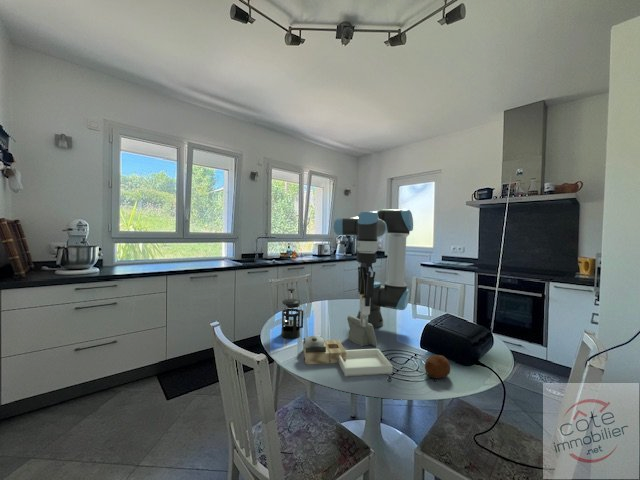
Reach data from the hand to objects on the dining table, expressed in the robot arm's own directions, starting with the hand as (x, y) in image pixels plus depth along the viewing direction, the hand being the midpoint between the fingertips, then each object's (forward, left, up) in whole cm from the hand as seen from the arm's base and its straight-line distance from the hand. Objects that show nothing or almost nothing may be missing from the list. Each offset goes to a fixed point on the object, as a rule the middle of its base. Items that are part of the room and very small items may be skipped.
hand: (364, 312), depth 102 cm
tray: (0, 0, -21) cm, 21 cm away
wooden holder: (+14, -9, -21) cm, 27 cm away
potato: (-25, +10, -21) cm, 34 cm away
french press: (+26, -32, -21) cm, 46 cm away
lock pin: (0, 0, -5) cm, 5 cm away
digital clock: (-7, -22, -21) cm, 31 cm away
